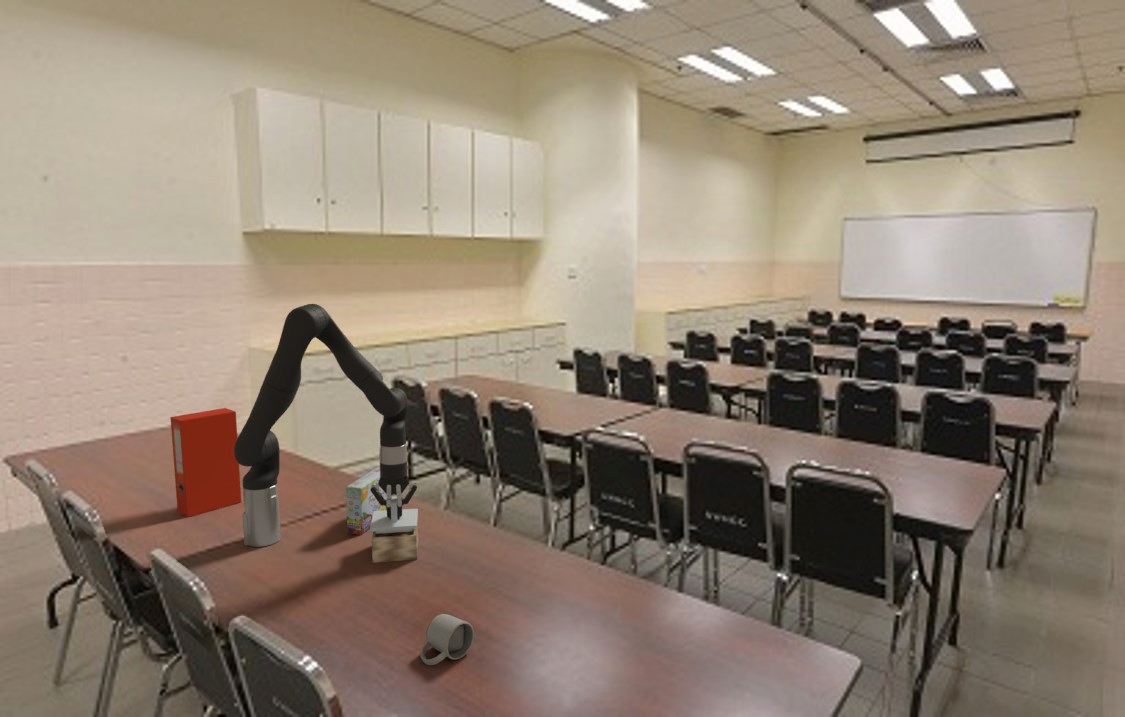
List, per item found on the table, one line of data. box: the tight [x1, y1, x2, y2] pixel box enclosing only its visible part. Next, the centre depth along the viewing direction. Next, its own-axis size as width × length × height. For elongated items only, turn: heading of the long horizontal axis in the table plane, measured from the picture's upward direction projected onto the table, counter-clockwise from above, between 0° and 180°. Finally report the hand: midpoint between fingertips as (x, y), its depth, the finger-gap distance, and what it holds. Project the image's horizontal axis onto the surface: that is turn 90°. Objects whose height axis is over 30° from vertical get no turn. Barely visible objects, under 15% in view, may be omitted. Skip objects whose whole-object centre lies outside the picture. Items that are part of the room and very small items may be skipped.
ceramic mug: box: [419, 613, 475, 666], centre depth 143 cm, size 11×8×8 cm
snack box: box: [345, 466, 394, 536], centre depth 213 cm, size 21×6×15 cm, turn 168°
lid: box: [369, 495, 419, 533], centre depth 191 cm, size 13×13×8 cm
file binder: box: [169, 407, 242, 518], centre depth 222 cm, size 8×17×32 cm, turn 141°
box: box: [371, 520, 419, 564], centre depth 192 cm, size 12×12×7 cm
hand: (394, 517), depth 191 cm, fingers closed on lid, 1 cm apart
